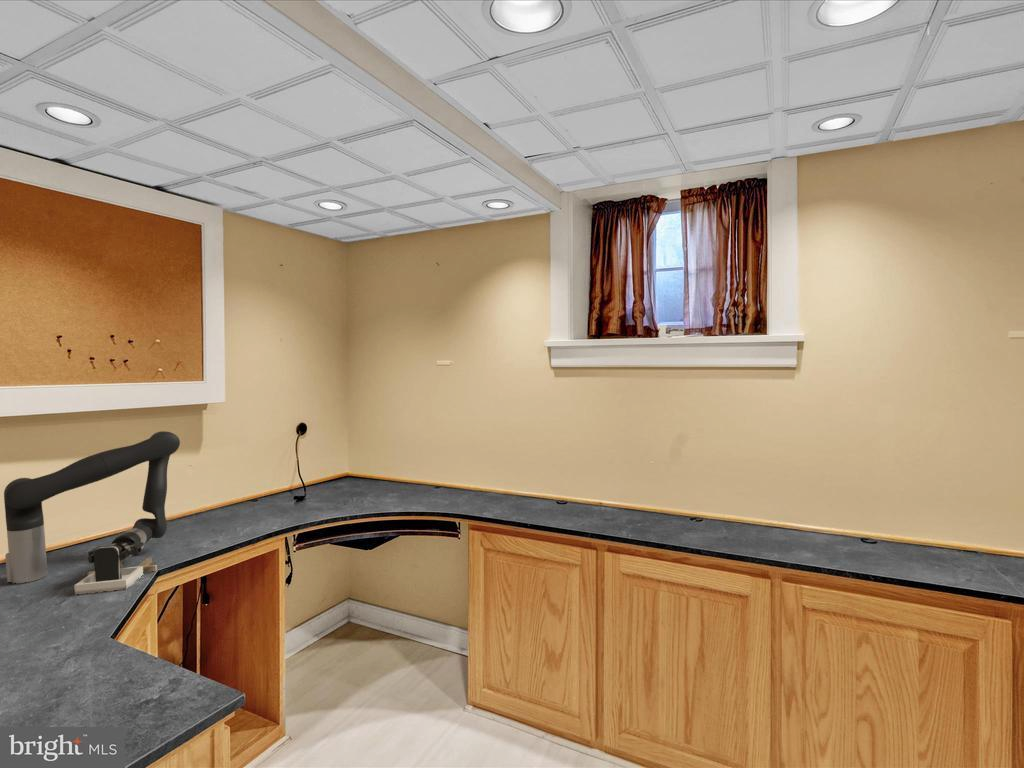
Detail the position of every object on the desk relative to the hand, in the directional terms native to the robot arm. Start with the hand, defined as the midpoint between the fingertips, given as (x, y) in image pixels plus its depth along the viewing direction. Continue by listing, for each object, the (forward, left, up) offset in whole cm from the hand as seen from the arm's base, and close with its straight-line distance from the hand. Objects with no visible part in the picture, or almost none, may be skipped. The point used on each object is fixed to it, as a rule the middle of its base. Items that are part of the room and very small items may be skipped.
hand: (105, 558), depth 174 cm
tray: (0, +2, -9) cm, 9 cm away
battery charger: (0, +2, -8) cm, 8 cm away
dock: (0, +15, -9) cm, 17 cm away
